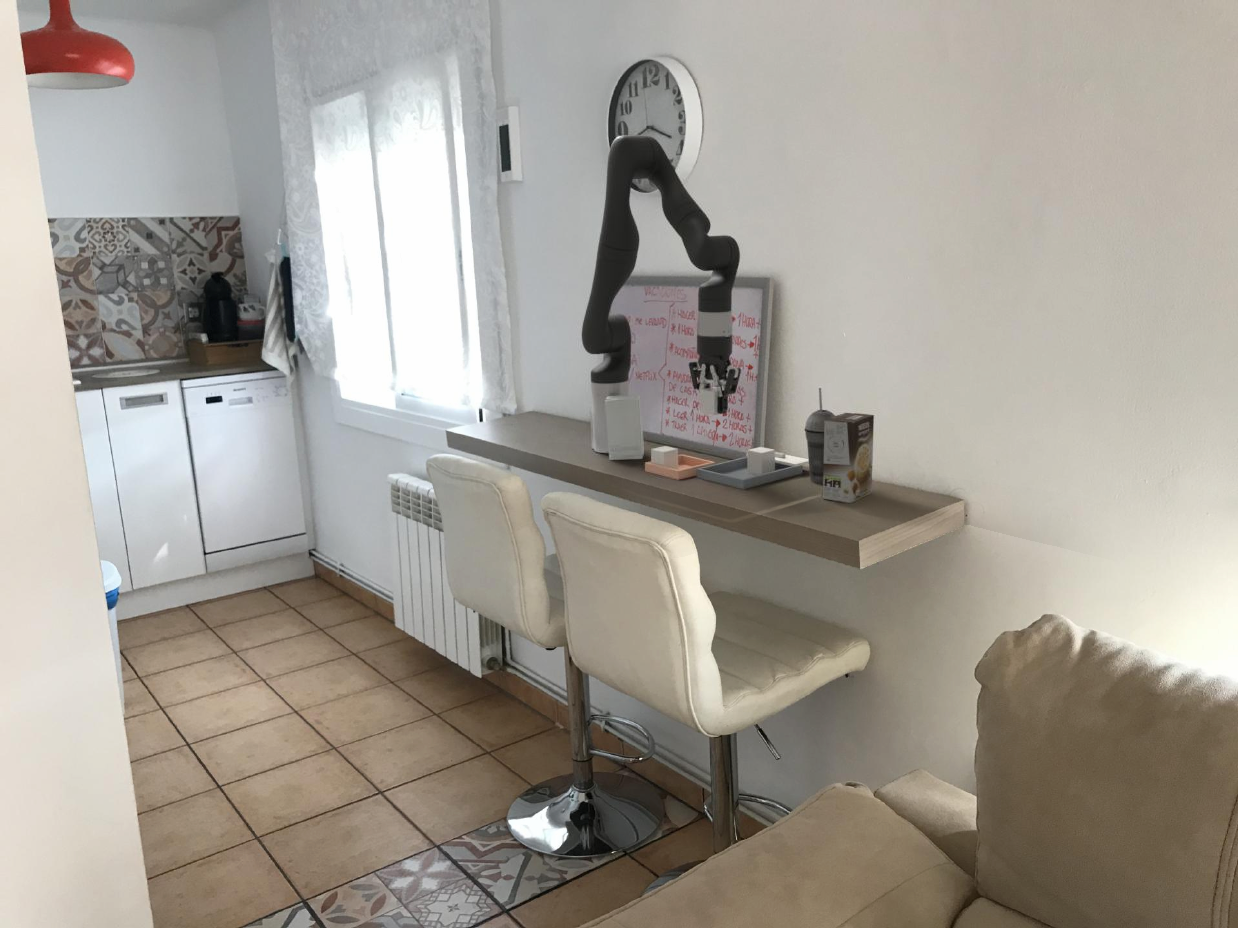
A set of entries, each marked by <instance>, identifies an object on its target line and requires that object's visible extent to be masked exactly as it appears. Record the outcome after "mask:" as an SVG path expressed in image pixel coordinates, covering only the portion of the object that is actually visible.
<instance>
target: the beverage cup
mask: <svg viewBox="0 0 1238 928" xmlns="http://www.w3.org/2000/svg"><path fill="white" fill-rule="evenodd" d="M822 395H823V394H822V388H821V387H820V388H818V400H819V401H818V403H819V409H817V410H815V411H813V412H812V413H811V414H809V416H808V417H807V419H806V421H805V427H804V431H805V439H806V441H807V442H806V443H807V444H806V445H807V456H808V458H807V459H809V464H808V470H809V477H810V482H811V483H814V484H821V485H823V475H824V474H823V471H824V419H827V418H831V417H834V416H836V415H835V414H834V413H833V412H831V411H830V410H827V409H823V398H822V397H823V396H822Z"/></svg>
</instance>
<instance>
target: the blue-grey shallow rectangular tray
mask: <svg viewBox="0 0 1238 928" xmlns="http://www.w3.org/2000/svg"><path fill="white" fill-rule="evenodd" d="M805 465H809V459H808V458H803V457H798V456H794V455H789V454H786V453H783V452H779V451H778V452H777V451H775V471H773V472H769V473H765V474H761V475H756V474H752V473H748V472H747V453H746V455H745V456H744V457H740V458H736V459H732V460H728V461H723V462H720V463H715V465H710V466H706V467H702V468H698V469H697V475H696V478H697V479H701V480H705V481H709V482H712V483H716V484H721V485H725V486H728V487H733V488H736V489H740V490H746V489H751V488H754V487H758V486H761V485H765V484H769V483H772V482H773V483H774V482H776V481H780V480H784V479H787V478H790V477H795V476H797V475H803V466H805Z"/></svg>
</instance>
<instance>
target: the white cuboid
mask: <svg viewBox="0 0 1238 928" xmlns="http://www.w3.org/2000/svg"><path fill="white" fill-rule="evenodd" d="M722 390H724V389H723V387H722ZM699 393H700V397H699V398H700V404H699V405H700V406H699V409H700V411H699V412H700V413H701V414H702V413H703V414H707V415H711V416H717V415H719V414H718V412H717V404H718V397H719V396H718V393H717V388H716V386H713V387H712V386H711V388H705V389H700V392H699ZM726 413H729V408H728V409H727V412H726ZM726 413H725V414H726Z"/></svg>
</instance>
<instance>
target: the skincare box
mask: <svg viewBox="0 0 1238 928" xmlns="http://www.w3.org/2000/svg"><path fill="white" fill-rule="evenodd" d="M605 409H606V422H607V435H608V447H609V453H608V459H609V461H621V460H622V461H624V460H643V458H644V453H645V447H644V446H645V444H644V433H643V432H644V431H643V418H642V417H643V415H642V402H641V394H640V393H637V394H635V393H634V394H629V395H620V396H607V398H606V400H605Z"/></svg>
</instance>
